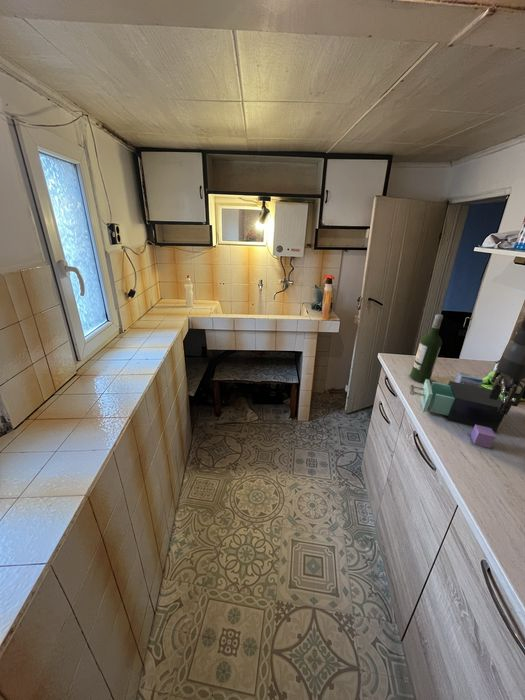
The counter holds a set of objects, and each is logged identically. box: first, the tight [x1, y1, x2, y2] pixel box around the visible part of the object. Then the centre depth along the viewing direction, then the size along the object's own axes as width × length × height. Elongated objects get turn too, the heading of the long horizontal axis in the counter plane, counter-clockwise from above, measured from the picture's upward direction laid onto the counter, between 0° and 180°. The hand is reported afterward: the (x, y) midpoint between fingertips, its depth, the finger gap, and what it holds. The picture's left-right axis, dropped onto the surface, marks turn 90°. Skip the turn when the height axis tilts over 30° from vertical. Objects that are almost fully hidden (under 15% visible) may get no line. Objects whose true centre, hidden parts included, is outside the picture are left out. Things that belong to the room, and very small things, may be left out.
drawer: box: [408, 379, 455, 416], centre depth 105 cm, size 19×11×8 cm, turn 67°
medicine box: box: [454, 371, 484, 388], centre depth 115 cm, size 8×4×9 cm, turn 72°
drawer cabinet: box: [445, 380, 505, 433], centre depth 101 cm, size 15×13×10 cm
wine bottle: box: [409, 313, 444, 384], centre depth 121 cm, size 8×8×30 cm
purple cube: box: [470, 424, 497, 449], centre depth 90 cm, size 4×4×4 cm
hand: (496, 405), depth 85 cm, fingers open, 8 cm apart
